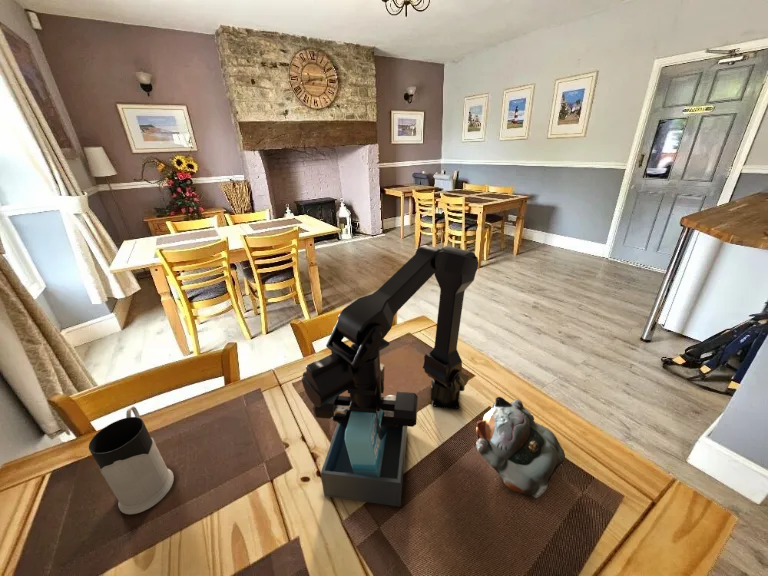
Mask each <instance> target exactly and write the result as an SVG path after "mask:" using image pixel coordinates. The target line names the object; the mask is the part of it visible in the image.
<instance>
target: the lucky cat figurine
mask: <svg viewBox="0 0 768 576" xmlns="http://www.w3.org/2000/svg"><path fill="white" fill-rule="evenodd" d="M475 426H476V428H475V430H476V450H477V452H478V454H479V455H480V456H481V458H483V460H485V462H487V463H488V465H489V466H490V467H491V468H493V470H495V472H496V473H497V474H498V475H499V476H500V477H501V479H502V480H503V483H504V484H505V486H506V487H507V488H509V490H511V491H512V492H515V493H520V494H523V495H526V496H532V497H533V498H534V499H538V498H540V497H541V496H542V495H543V494H544V493H545V492H546V490H547V489H548V486H549V482H550V481H551V477H552V476H553V475H554V473H555V472H556V471H557V469H558V468H559V467H560V466H561V465H562V464H563V463H564V461H565V459H566V454H565V450H564V449H563V448H562V445H561V443H560V442H559V440H558V438H557V436H556V434H555V433H554V432H553V431H552V430H550V429H549V428H548V427H546V426H544V425H542V424H540V423H538V422H536V421H535V417H534V415H533V414H532V413H531V412H530V411H529V410H528V409H527V408H525V407H524V403H523V402H522V401H521V400H520V398H515V400H512V401H511V402H509V401H507V400H506V399H505V398H503V396H497V397H495V402H494V403H493V405H492V407H491V409H489V410H488V411H487V412H486V413H485V414H484V415H483V419H479V420H478V421H477V422H476V425H475Z"/></svg>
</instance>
